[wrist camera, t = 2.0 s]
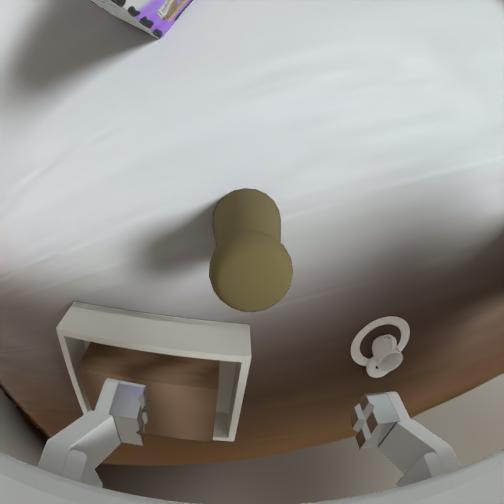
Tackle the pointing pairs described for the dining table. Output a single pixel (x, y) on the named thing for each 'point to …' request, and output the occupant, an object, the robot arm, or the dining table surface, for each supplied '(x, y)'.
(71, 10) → the dining table surface
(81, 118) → the dining table surface
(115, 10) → the candy box
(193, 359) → the walnut block
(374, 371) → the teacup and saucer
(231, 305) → the olive waisted cylinder
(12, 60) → the dining table surface
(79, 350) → the tote
